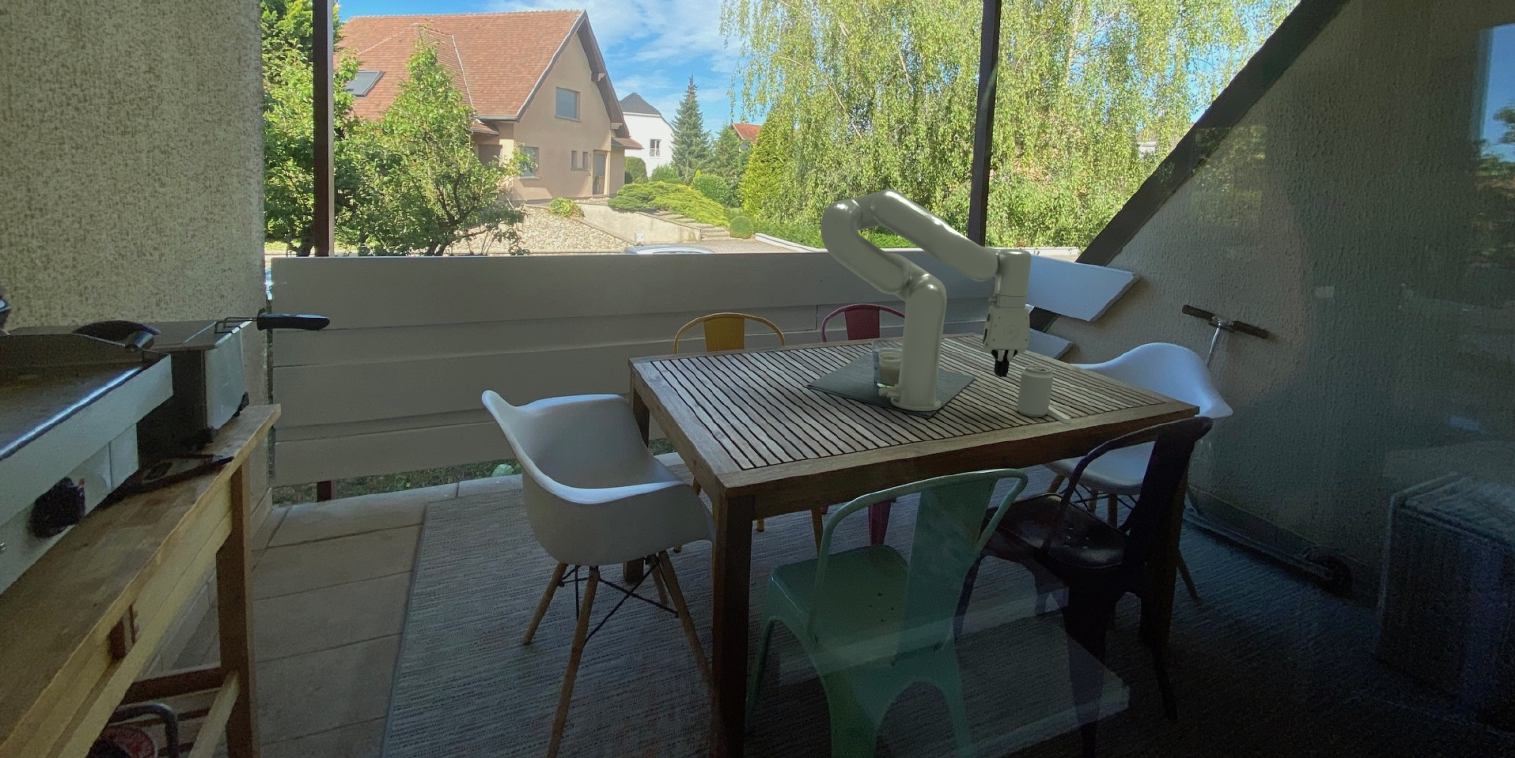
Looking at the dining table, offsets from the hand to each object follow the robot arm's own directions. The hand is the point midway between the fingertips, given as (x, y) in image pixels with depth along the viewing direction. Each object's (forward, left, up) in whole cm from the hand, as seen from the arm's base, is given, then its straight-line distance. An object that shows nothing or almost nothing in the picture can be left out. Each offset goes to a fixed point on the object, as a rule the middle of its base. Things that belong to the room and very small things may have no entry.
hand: (1000, 375), depth 190 cm
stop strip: (+15, +1, -10) cm, 18 cm away
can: (+10, 0, -10) cm, 14 cm away
